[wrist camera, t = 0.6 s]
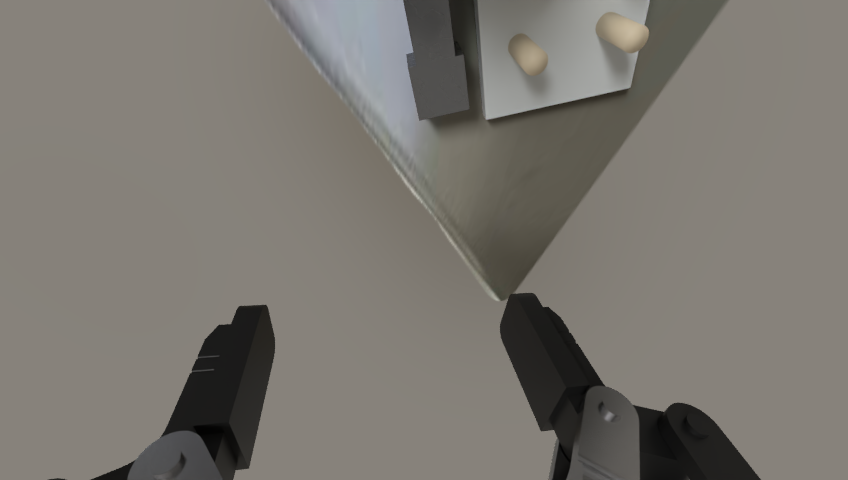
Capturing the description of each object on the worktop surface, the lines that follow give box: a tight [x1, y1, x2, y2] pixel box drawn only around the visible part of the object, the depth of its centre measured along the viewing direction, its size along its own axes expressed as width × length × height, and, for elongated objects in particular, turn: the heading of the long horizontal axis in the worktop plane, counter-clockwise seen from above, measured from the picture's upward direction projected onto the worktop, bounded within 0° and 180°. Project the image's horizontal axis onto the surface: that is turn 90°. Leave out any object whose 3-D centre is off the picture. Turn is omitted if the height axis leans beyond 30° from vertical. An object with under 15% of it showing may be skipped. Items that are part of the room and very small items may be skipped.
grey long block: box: [403, 0, 469, 121], centre depth 23 cm, size 14×4×3 cm, turn 11°
